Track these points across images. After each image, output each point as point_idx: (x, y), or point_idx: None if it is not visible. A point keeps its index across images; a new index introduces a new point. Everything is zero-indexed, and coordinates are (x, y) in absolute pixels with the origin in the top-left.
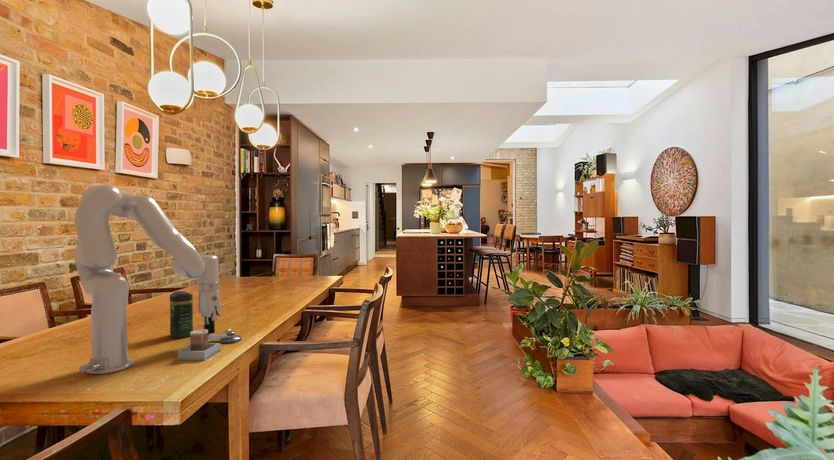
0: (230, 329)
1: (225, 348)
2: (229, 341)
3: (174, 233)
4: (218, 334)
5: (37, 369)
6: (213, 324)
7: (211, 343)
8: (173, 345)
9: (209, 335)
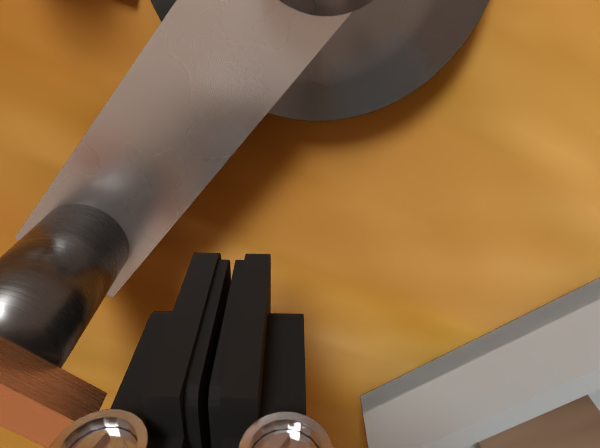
0: None
1: (588, 184)
2: (454, 42)
3: None
4: (139, 92)
5: None
6: (259, 384)
7: (586, 388)
8: (38, 444)
9: (115, 222)
